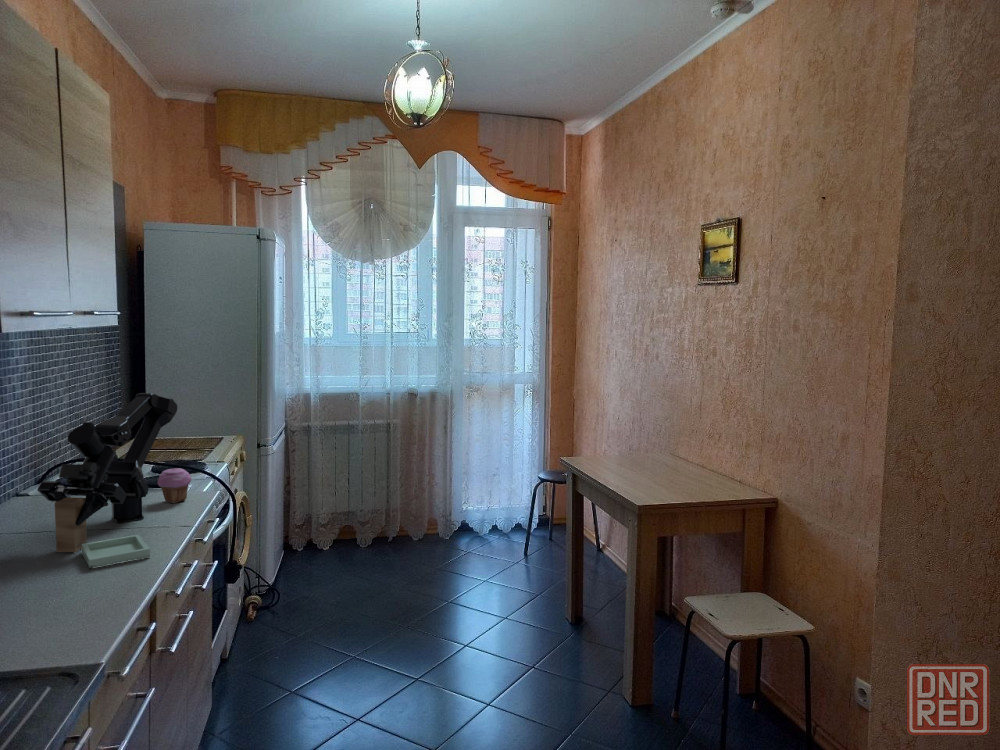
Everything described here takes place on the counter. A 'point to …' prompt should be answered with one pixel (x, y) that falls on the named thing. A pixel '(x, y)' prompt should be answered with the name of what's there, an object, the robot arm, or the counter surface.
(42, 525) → the counter surface
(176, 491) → the cupcake
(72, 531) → the tan wooden block
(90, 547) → the tray
